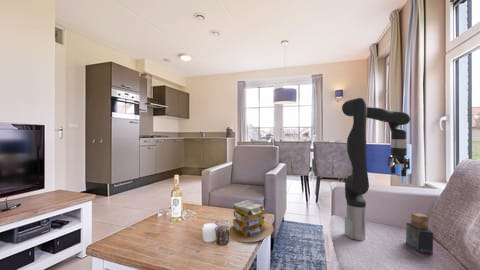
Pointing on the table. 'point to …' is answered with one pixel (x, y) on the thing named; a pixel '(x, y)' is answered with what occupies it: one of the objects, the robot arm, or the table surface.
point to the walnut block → (419, 220)
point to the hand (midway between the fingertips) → (398, 175)
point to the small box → (419, 239)
